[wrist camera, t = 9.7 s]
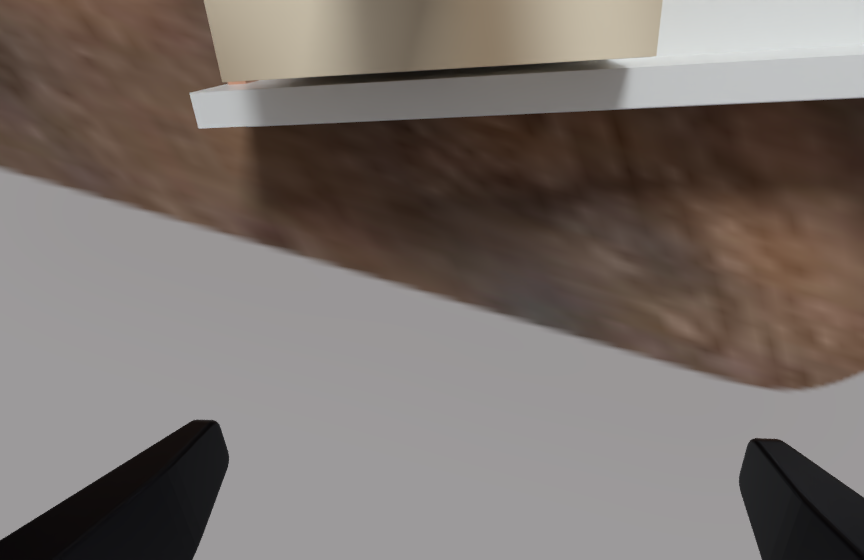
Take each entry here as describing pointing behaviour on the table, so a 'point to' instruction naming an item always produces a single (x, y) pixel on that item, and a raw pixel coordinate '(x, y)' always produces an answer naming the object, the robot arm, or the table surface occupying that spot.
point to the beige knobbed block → (422, 34)
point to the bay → (591, 73)
